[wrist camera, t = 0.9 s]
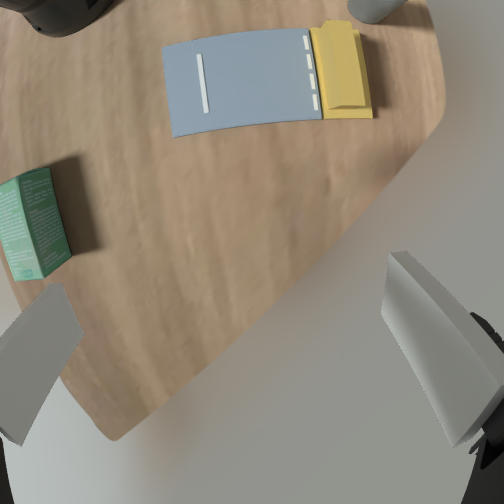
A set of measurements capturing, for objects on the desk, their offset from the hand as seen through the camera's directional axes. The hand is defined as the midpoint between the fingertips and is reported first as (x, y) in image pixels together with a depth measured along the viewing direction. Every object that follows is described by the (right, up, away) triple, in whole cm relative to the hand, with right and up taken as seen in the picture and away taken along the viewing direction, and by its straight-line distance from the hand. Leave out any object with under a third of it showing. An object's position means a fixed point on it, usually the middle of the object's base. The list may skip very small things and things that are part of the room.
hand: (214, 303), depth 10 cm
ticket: (0, +21, +16) cm, 26 cm away
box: (-29, +7, +22) cm, 37 cm away
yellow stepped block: (+11, +22, +16) cm, 29 cm away
